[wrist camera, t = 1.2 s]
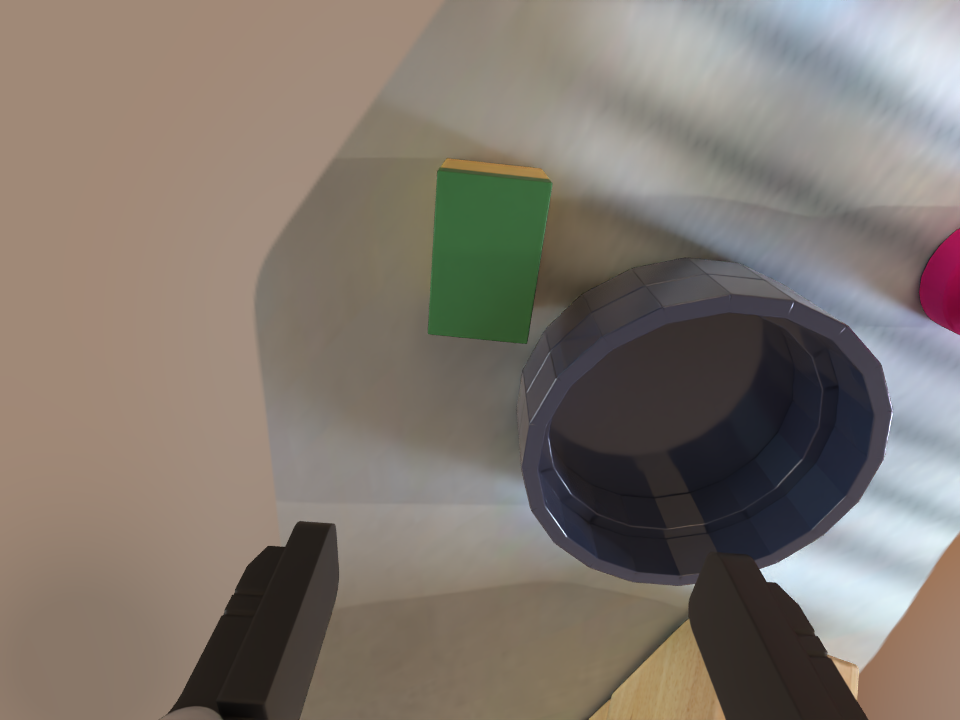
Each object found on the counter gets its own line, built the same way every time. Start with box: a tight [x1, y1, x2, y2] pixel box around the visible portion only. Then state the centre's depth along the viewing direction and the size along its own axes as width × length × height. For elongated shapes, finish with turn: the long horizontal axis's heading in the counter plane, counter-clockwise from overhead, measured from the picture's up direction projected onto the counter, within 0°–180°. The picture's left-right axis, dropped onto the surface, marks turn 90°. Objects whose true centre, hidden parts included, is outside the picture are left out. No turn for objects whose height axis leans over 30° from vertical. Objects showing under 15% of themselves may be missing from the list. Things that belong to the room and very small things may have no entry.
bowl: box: [516, 258, 893, 586], centre depth 27 cm, size 17×17×6 cm
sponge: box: [428, 158, 552, 344], centre depth 23 cm, size 7×4×4 cm, turn 174°
